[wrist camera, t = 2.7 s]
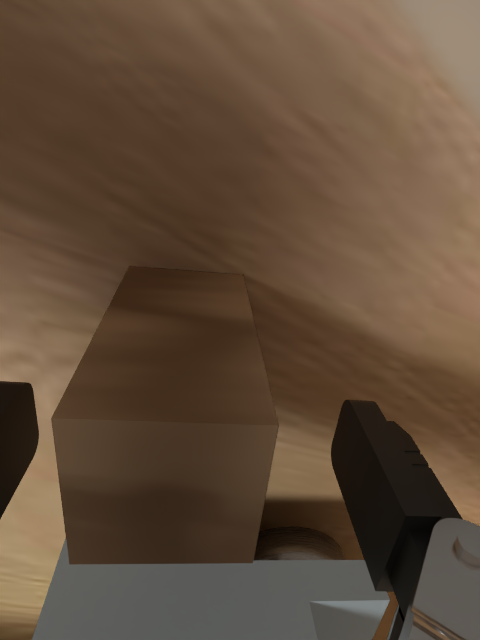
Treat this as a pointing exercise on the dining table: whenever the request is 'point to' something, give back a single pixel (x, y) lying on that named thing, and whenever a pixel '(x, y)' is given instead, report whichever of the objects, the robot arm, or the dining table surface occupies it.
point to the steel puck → (296, 545)
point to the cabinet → (212, 601)
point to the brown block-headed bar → (167, 426)
